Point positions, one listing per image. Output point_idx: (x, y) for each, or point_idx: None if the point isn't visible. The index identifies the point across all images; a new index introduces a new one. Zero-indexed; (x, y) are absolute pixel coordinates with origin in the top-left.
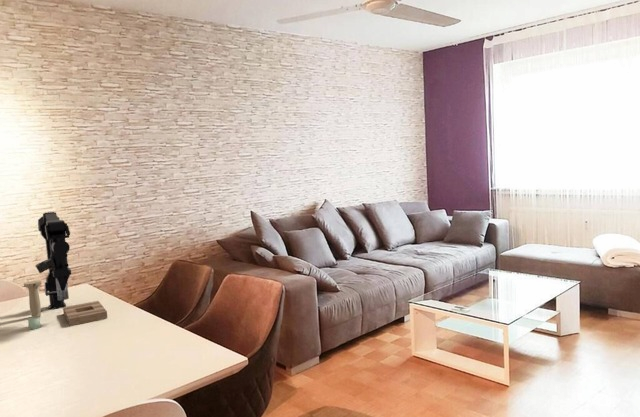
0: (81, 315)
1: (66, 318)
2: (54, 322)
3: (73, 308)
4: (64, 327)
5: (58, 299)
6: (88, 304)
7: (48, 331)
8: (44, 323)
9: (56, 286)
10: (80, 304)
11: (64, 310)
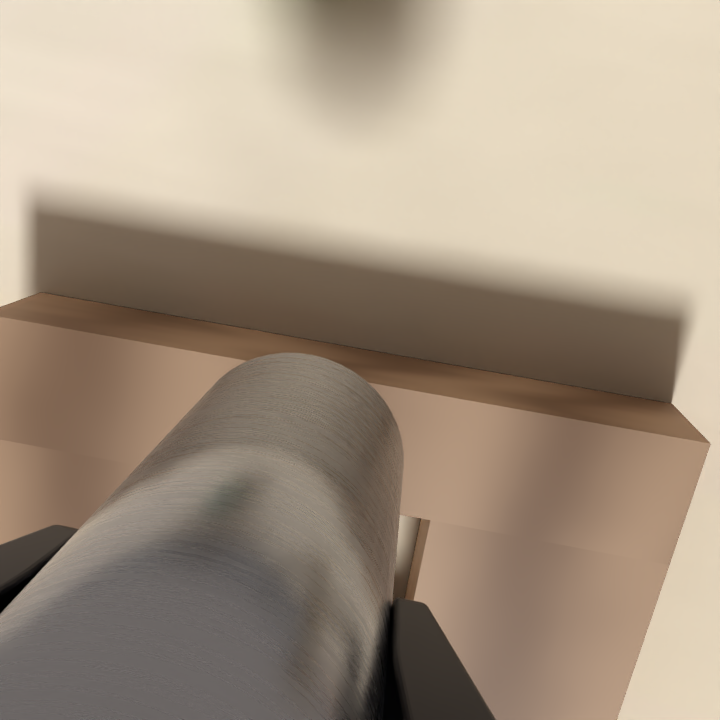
0: (21, 472)
1: (339, 350)
2: (361, 200)
3: (478, 517)
4: (33, 232)
5: (260, 361)
6: (501, 702)
7: (2, 32)
8: (432, 82)
9: (210, 517)
10: (610, 644)
11: (522, 406)
